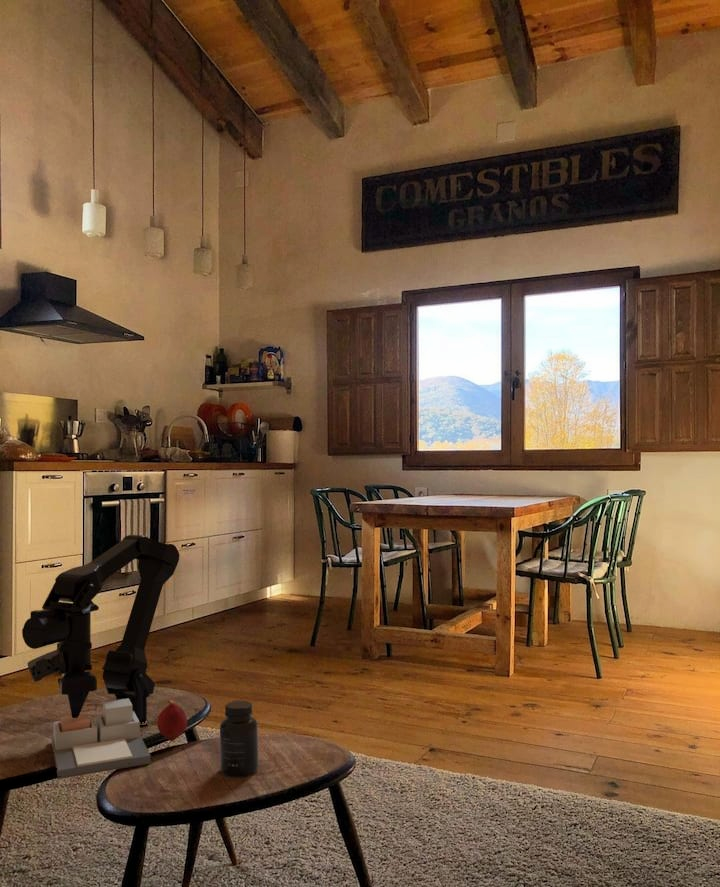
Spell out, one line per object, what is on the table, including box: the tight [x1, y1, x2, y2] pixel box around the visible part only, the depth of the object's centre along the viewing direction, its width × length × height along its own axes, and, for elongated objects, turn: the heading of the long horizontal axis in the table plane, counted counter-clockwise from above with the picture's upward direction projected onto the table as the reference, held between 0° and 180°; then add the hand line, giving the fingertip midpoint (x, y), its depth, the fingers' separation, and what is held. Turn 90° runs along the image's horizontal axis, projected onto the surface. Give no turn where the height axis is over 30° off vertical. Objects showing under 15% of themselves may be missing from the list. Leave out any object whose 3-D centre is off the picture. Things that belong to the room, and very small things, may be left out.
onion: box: [156, 700, 188, 742], centre depth 157 cm, size 6×6×8 cm
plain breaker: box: [102, 698, 132, 726], centre depth 156 cm, size 5×5×4 cm
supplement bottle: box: [219, 699, 259, 778], centre depth 142 cm, size 7×7×12 cm
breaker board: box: [50, 711, 152, 780], centre depth 150 cm, size 16×19×4 cm
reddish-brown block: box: [59, 713, 90, 732], centre depth 153 cm, size 5×5×4 cm
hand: (75, 717), depth 153 cm, fingers closed
